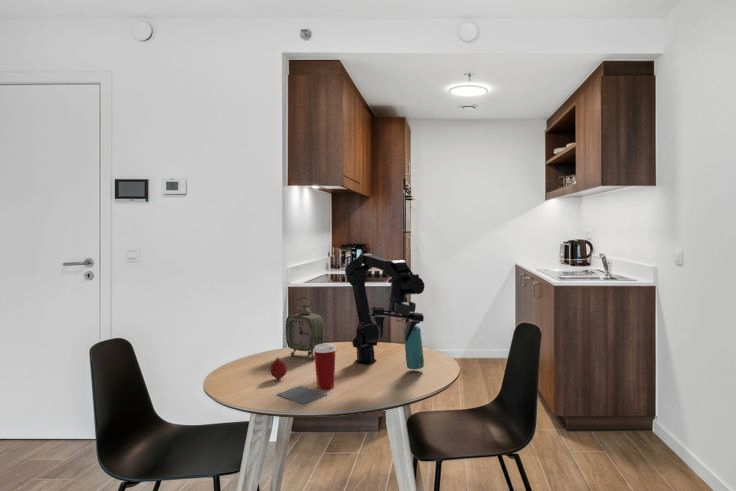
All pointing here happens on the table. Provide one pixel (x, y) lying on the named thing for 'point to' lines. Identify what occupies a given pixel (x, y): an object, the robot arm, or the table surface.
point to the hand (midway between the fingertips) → (394, 339)
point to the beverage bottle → (414, 349)
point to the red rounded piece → (278, 369)
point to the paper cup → (325, 365)
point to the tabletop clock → (304, 330)
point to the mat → (301, 394)
